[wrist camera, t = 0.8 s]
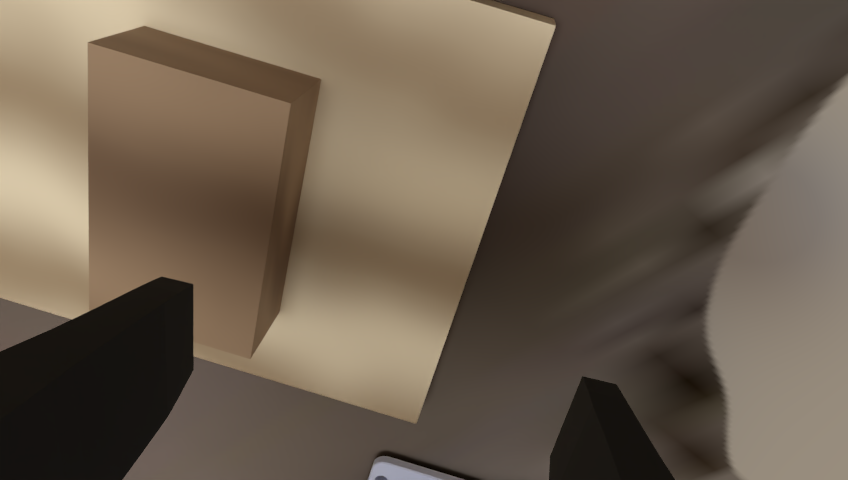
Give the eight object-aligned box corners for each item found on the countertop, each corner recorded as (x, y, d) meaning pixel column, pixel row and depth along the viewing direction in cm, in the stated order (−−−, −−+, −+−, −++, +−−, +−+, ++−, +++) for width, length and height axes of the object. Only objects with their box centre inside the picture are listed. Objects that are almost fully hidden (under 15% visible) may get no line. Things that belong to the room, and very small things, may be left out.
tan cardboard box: (279, 312, 21) (250, 359, 18) (135, 268, 21) (88, 310, 18) (321, 78, 17) (291, 103, 15) (144, 25, 17) (87, 42, 15)
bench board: (421, 400, 23) (416, 424, 22) (-196, 213, 23) (-230, 227, 22) (553, 18, 16) (555, 25, 15) (-314, -242, 17) (-371, -253, 15)
